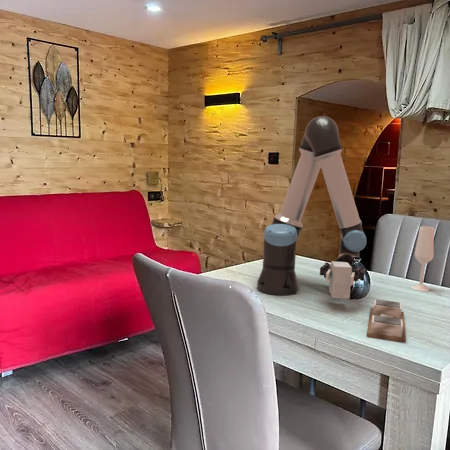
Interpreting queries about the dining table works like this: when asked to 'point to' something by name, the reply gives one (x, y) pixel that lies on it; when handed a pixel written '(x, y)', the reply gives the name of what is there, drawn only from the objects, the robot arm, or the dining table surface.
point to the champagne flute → (424, 252)
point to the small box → (340, 280)
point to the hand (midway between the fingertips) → (339, 279)
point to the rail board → (386, 321)
